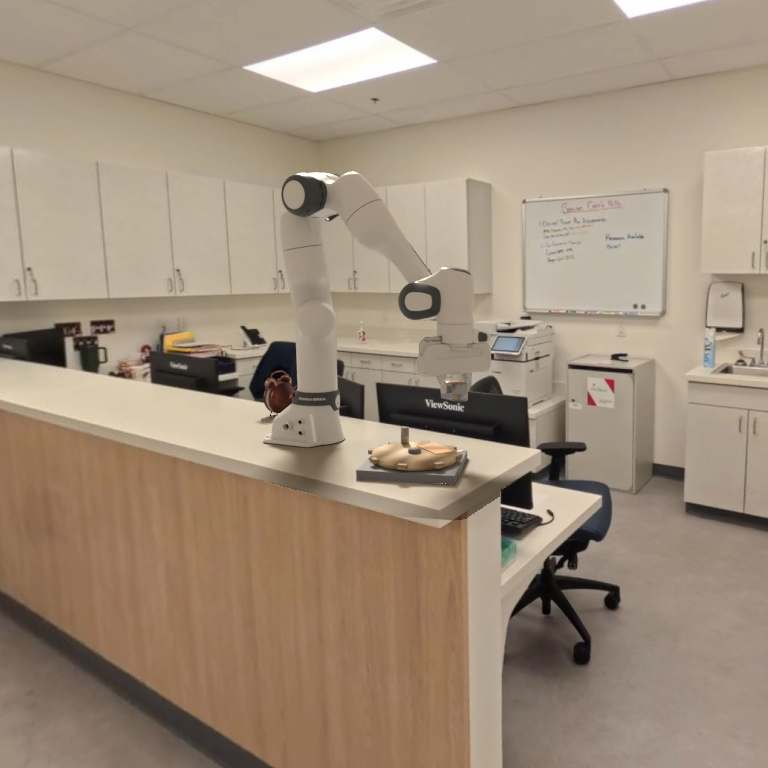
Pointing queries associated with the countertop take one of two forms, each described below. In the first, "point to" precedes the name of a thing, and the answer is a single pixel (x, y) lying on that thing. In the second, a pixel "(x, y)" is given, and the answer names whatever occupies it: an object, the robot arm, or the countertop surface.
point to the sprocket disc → (414, 454)
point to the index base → (412, 473)
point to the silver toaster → (456, 391)
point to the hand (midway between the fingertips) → (454, 392)
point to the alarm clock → (278, 393)
